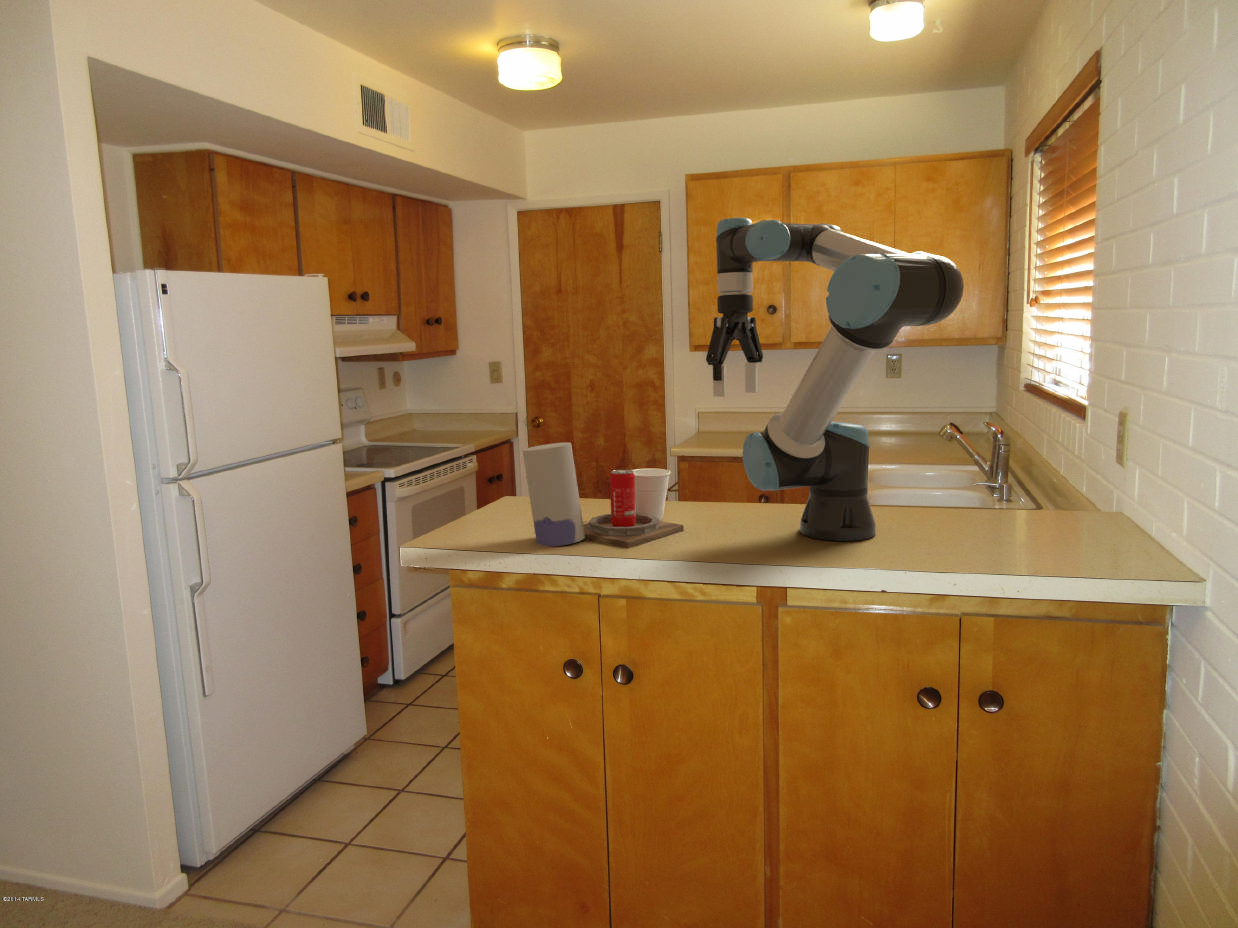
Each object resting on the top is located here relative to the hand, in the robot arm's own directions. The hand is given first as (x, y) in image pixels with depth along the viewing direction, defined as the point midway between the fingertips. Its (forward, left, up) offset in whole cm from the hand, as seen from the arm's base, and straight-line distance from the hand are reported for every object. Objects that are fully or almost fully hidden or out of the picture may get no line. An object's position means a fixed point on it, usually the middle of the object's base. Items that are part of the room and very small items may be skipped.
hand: (736, 394), depth 184 cm
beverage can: (+14, +22, -27) cm, 38 cm away
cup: (+17, +9, -28) cm, 34 cm away
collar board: (+14, +22, -28) cm, 38 cm away
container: (+20, +35, -29) cm, 49 cm away
